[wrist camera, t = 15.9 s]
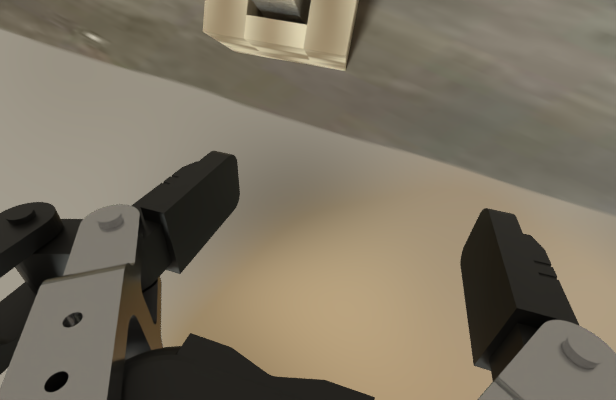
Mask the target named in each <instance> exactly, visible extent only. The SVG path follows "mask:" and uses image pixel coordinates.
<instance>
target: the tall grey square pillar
mask: <svg viewBox="0 0 616 400" xmlns="http://www.w3.org/2000/svg"><path fill="white" fill-rule="evenodd" d="M252 1H253V2H254V4H255V5H256V6H257V8H258V9H259V10H260V11H261V13H262V14H263V15H264V17H265V18H269V19H275V20H281V21H287V22H293V23H299V24H305V25H307V23H308V16H309V10H310V4H311V0H252Z"/></svg>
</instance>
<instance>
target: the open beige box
mask: <svg viewBox="0 0 616 400" xmlns="http://www.w3.org/2000/svg"><path fill="white" fill-rule="evenodd" d="M358 3H359V0H311V4H310V10H309V16H308V23H307V25H305V24H299V23H293V22H287V21H281V20H275V19H269V18H265V17H264V15H263V14H262V13H261V11H260V10H259V9H258V8H257V6H256V5H255V4H254V2H253V1H252V0H205V9H204V22H203V32H205V33H206V34H208V35H209V36H211V37H212V38H214V39H216V40H217V41H219V42H220V43H222V44H224V45H225V46H227V47H228V48H230V49H232V50H233V51H235V52H239V53H245V54H251V55H257V56H262V57H268V58H274V59H280V60H286V61H291V62H297V63H303V64H309V65H315V66H320V67H326V68H332V69H338V70H343V71H345V70H346V65H347V59H348V54H349V49H350V44H351V39H352V34H353V28H354V23H355V18H356V13H357V8H358Z"/></svg>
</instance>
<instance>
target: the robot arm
mask: <svg viewBox="0 0 616 400" xmlns="http://www.w3.org/2000/svg"><path fill="white" fill-rule="evenodd" d="M239 195H240V191H239V178H238V166H237V159H236V157H235V156H234V155H231V154H227V153H222V152H217V151H212V152H210V153H209V154H207V155H206V156H205V157H204V158H202V159H201V160H200V161H198V162H194V163H192V164H189V165H187V166H184V167H182V168H181V169H180V170H178V171H177V172H175V173H174V174H173V175H172V177H169V178H168V179H166V180H165V181H164V183H161V184H160V185H158V186H157V187H156V188H154V189H153V190H152V191H150V192H149V193H148V194H146V195H145V196H144V197H142V198H141V199H140V200H138V201H137V202H136V203H135V204H133V205H132V206H130V205H122V204H121V205H111V206H107V207H103V208H100V209H98V210H96V211H94V212H92V213H90V214H89V215H87V216H86V217H85V218H84V219H60V217H59V215H58V213H57V211H56V209H55V207H54V206H53V205H51V204H49V203H43V202H33V203H27V204H22V205H19V206H16V207H13V208H10V209H8V210H5V211H3V212H2V213H0V277H2V276H3V275H5V274H6V273H7V272H9V271H10V270H11V269H13V268H14V267H15V268H16V269H17V271H18V272H19V273H20V275H21V276H22V277H23V279H24V280H25V283H23V284H22V285H21V286H20V287H18V288H17V289H16V290H15V291H13V292H12V293H11V294H10V295H8V296H7V297H6V298H5V299H3V300H2V301H1V302H0V374H1V373H3V372H4V371H5V370H6V369H7V368H8V370H7V372H6V375H5V378H4V380H3V382H2V385H1V388H0V400H374V399H375V398H374V397H372V396H369V395H366V394H363V393H361V392H358V391H355V390H352V389H349V388H346V387H343V386H340V385H338V384H335V383H332V382H329V381H326V380H317V379H302V378H287V377H275V376H271V375H269V374H267V373H266V372H265V371H263V370H262V369H260V368H259V367H257V366H256V365H255V364H253V363H252V362H251V361H249V360H248V359H247V358H245V357H244V356H242V355H241V354H240V353H238V352H237V351H236V350H234V349H233V348H231V347H229V346H226V345H222V344H220V343H217V342H214V341H212V340H209V339H206V338H203V337H200V336H197V335H194V334H191V333H190V335H189V336H188V337H187V339H186V340H185V342H184V343H183V345H182V346H177V347H165V348H163V344H162V339H161V287H162V284H161V283H162V282H161V278H160V275H161V274H162V273H163V272H164V271H165V270H169V271H172V272H175V273H179V274H181V272H182V271H183V270H184V269H185V268H186V266H187V265H188V264H189V263H190V262H191V261H192V259H193V258H194V257H195V256H196V255H197V253H198V252H199V251H200V250H201V249H202V247H203V246H204V245H205V244H206V243H207V241H208V240H209V239H210V238H211V237H212V236H213V234H214V233H215V232H216V231H217V230H218V228H219V227H220V226H221V225H222V224H223V222H224V221H225V220H226V219H227V218H228V217H229V215H230V214H231V213H232V212H233V211H234V209H235V208H236V206H237V204H238V201H239ZM461 272H462V280H463V287H464V295H465V302H466V310H467V318H468V325H469V333H470V339H471V348H472V355H473V363H474V366H477V367H480V368H484V369H487V370H490V371H491V372H492V378H493V382H492V383H491V385H490V386H489V387H488V388H487V389H486V390H485V391H484V393H483V394H482V395H481V396H480V397H479V399H478V400H616V354H615V352H614V351H613V350H612V349H611V348H610V347H609V346H608V345H607V344H606V343H605V342H604V341H602V340H601V339H600V338H599V337H598V336H596V335H595V334H593V333H592V332H590V331H588V330H587V329H585V328H583V327H581V326H579V323H578V321H577V319H576V317H575V315H574V313H573V310H572V308H571V306H570V304H569V302H568V300H567V297H566V295H565V293H564V291H563V289H562V286H561V284H560V282H559V280H557V275H556V273H555V271H554V269H553V267H551V262H550V260H549V258H548V256H547V254H546V251H545V250H544V249H543V248H542V247H541V245H539V243H537V241H536V240H535V239H534V238H533V237H532V236H531V235H527V234H523V233H522V230H521V228H520V225H519V223H518V220H517V218H516V216H515V215H514V214H511V213H506V212H501V211H497V210H492V209H487V208H486V209H483V210H482V212H481V213H480V215H479V217H478V219H477V221H476V223H475V225H474V227H473V229H472V232H471V233H470V236H469V238H468V240H467V241H466V244H465V246H464V248H463V251H462V256H461Z"/></svg>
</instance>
